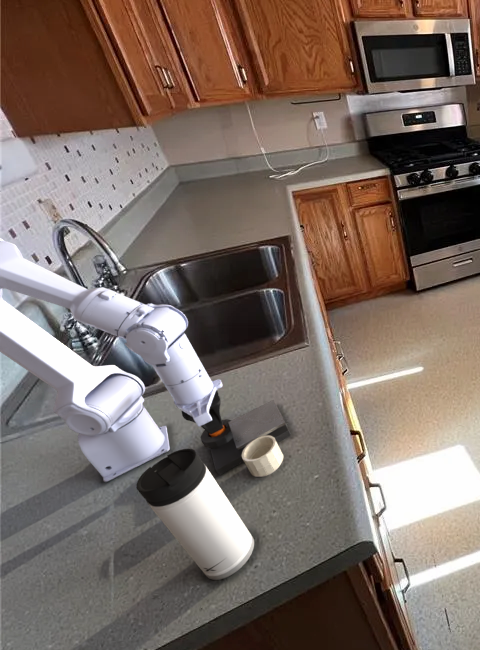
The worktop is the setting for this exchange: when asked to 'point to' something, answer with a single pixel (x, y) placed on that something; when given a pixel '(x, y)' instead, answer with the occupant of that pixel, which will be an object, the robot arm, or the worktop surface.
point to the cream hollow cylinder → (262, 456)
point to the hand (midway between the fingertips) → (216, 429)
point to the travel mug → (197, 513)
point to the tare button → (218, 432)
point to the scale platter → (256, 424)
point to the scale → (232, 446)
